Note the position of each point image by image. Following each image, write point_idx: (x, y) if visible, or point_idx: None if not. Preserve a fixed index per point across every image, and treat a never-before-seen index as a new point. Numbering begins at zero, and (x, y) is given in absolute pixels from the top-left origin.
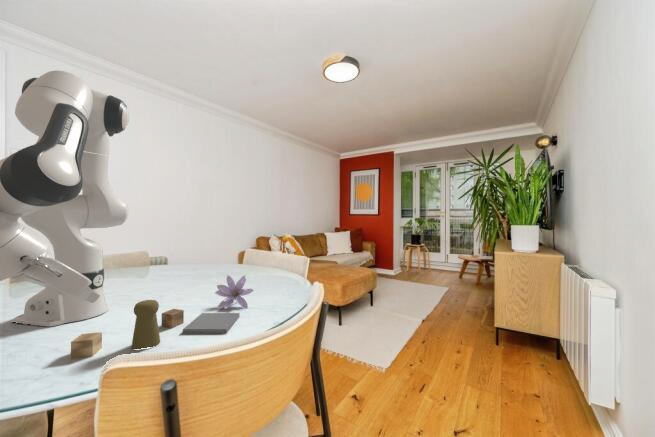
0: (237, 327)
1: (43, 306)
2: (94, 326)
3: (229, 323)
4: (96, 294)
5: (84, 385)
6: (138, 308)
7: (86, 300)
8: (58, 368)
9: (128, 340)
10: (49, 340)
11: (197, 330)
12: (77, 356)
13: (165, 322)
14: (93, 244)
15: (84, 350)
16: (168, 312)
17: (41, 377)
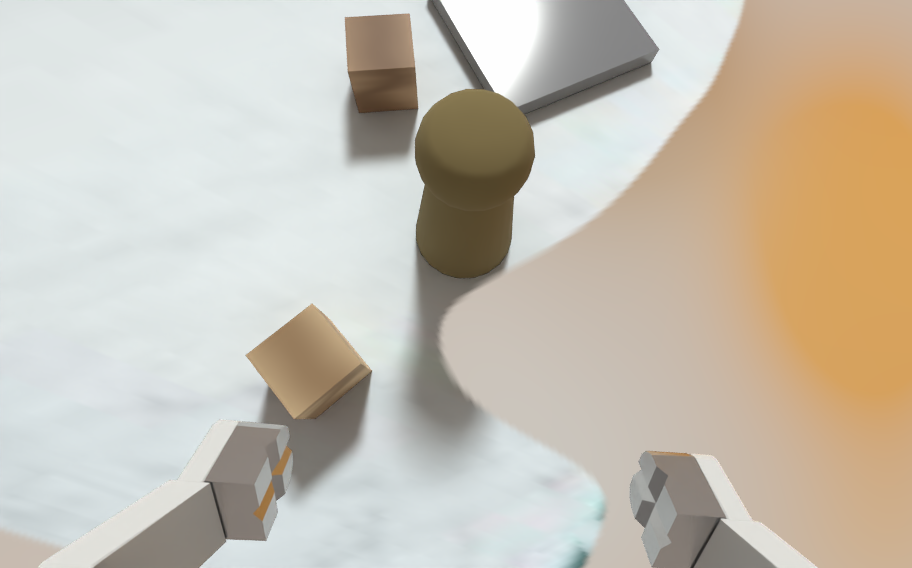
0: (643, 14)
1: None
2: (66, 222)
3: (624, 11)
4: (728, 486)
5: (570, 485)
6: (494, 191)
7: (642, 525)
8: (353, 474)
9: (362, 239)
10: (26, 379)
11: (557, 93)
12: (330, 403)
13: (378, 97)
14: None
15: (344, 386)
16: (369, 54)
17: (370, 533)
